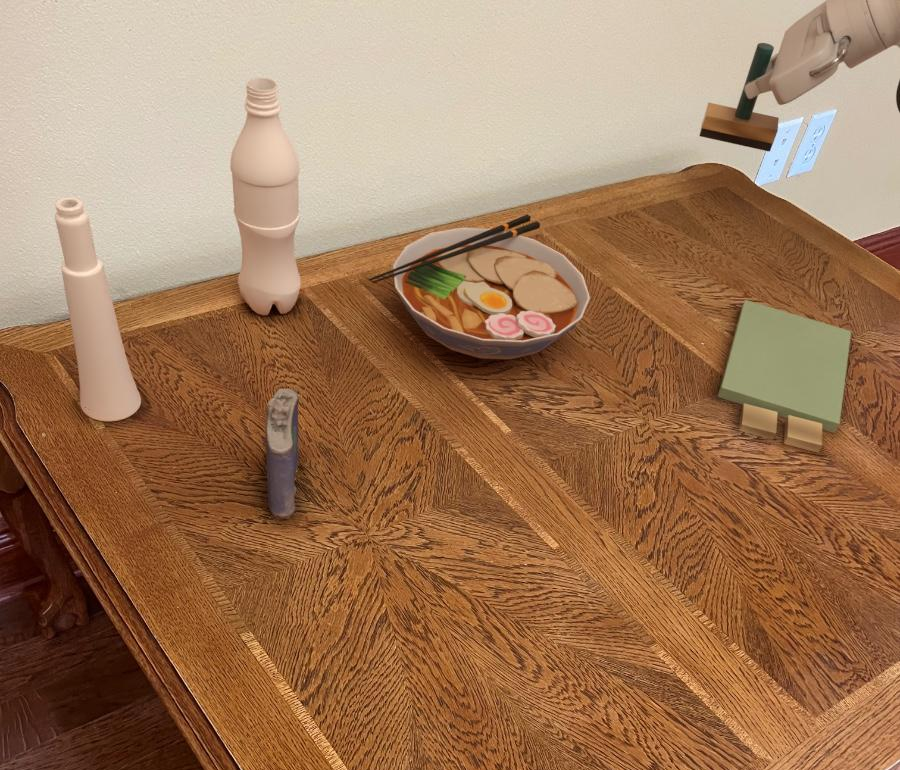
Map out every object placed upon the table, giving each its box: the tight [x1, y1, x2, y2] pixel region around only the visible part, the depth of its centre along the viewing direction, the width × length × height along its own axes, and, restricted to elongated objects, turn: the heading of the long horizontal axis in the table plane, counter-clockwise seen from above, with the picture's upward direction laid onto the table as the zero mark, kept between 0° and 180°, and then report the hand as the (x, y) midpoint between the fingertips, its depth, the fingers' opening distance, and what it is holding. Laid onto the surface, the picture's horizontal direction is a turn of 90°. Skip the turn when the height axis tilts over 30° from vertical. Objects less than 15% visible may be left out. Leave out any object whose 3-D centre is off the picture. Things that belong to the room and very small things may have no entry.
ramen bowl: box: [369, 214, 591, 360], centre depth 110 cm, size 25×23×8 cm
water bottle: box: [229, 76, 302, 316], centre depth 102 cm, size 7×7×25 cm
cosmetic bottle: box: [54, 196, 142, 422], centre depth 89 cm, size 6×6×22 cm
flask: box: [264, 387, 300, 520], centre depth 89 cm, size 9×3×11 cm, turn 2°
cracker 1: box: [738, 403, 778, 441], centre depth 108 cm, size 4×4×1 cm
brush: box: [699, 42, 780, 153], centre depth 128 cm, size 10×4×12 cm, turn 75°
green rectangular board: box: [717, 299, 852, 434], centre depth 115 cm, size 20×14×2 cm
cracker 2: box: [783, 415, 823, 454], centre depth 107 cm, size 4×4×1 cm
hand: (748, 87), depth 127 cm, fingers closed on brush, 2 cm apart
